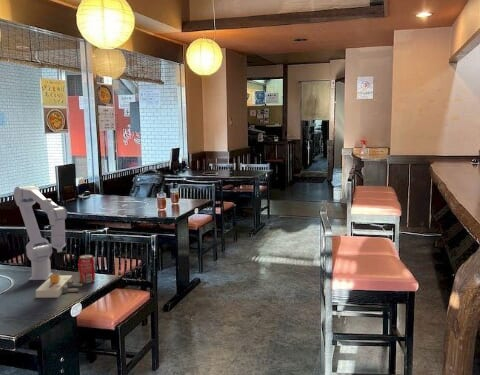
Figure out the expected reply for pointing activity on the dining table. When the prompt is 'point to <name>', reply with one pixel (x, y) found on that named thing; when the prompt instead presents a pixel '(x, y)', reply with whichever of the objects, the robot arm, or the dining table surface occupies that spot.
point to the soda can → (86, 269)
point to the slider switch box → (53, 287)
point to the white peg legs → (71, 284)
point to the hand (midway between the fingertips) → (59, 264)
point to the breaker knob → (54, 278)
